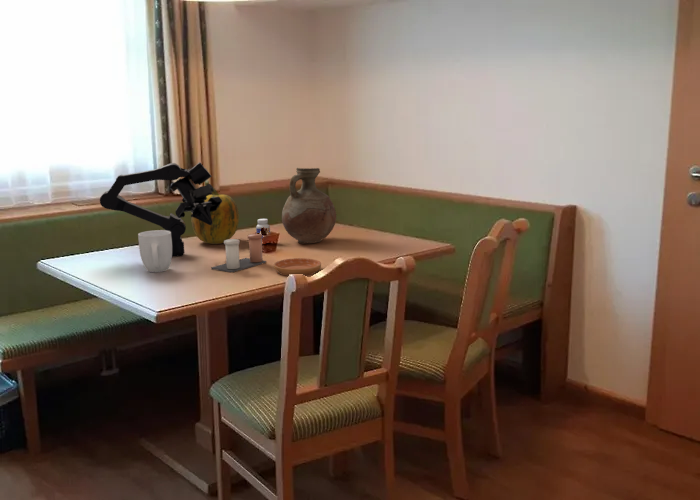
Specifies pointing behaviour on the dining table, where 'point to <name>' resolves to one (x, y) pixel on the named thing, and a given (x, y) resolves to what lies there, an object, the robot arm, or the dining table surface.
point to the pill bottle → (262, 225)
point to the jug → (308, 209)
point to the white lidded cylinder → (232, 253)
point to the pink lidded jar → (255, 247)
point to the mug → (155, 249)
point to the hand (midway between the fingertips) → (211, 224)
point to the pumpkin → (218, 221)
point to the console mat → (243, 265)
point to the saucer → (297, 266)
